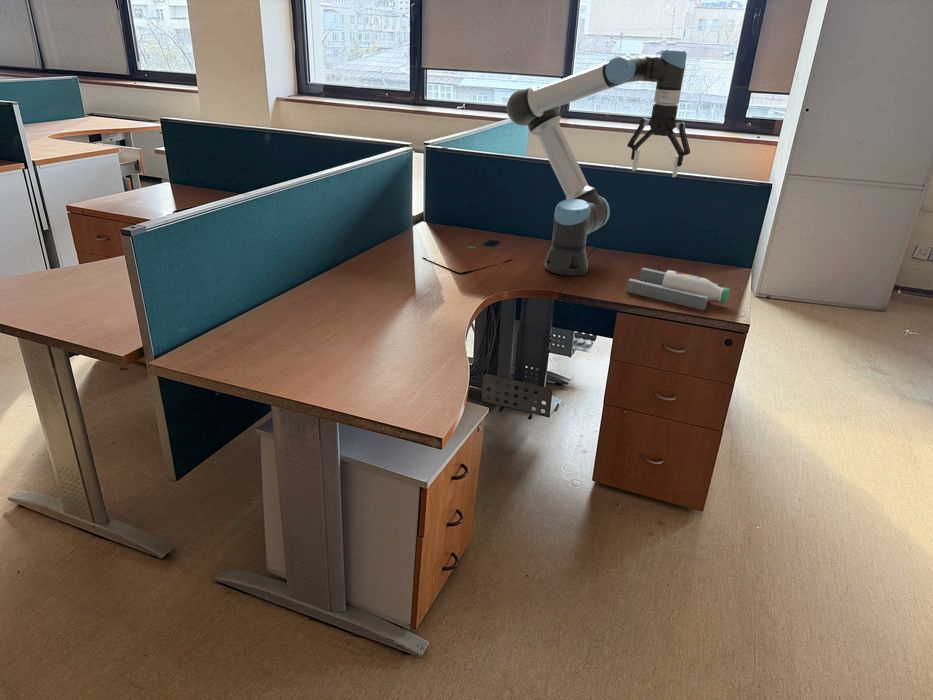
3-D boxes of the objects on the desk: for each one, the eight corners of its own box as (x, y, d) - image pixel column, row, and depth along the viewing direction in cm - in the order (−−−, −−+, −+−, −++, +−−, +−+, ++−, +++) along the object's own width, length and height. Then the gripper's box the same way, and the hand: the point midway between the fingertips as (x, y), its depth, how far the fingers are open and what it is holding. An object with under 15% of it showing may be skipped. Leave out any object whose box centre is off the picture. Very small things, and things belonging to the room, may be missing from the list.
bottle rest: (626, 291, 212) (628, 280, 210) (641, 278, 224) (643, 267, 222) (704, 310, 201) (706, 298, 199) (715, 295, 212) (718, 284, 210)
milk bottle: (660, 297, 212) (723, 312, 204) (661, 282, 206) (726, 297, 198) (667, 280, 216) (730, 294, 207) (668, 264, 210) (733, 278, 201)
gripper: (623, 101, 205) (614, 169, 215) (702, 109, 194) (688, 181, 204) (631, 99, 211) (621, 165, 221) (709, 107, 200) (695, 177, 210)
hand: (654, 173), depth 212 cm, fingers open, 13 cm apart
